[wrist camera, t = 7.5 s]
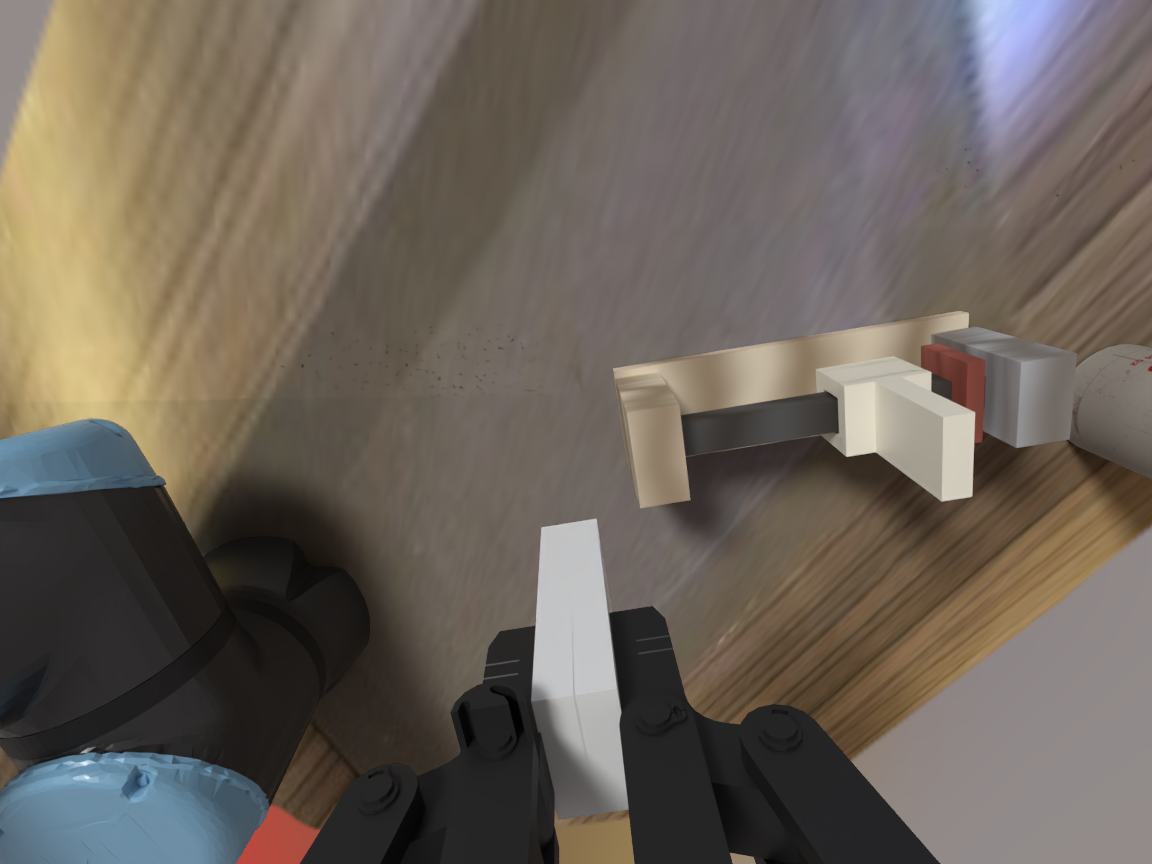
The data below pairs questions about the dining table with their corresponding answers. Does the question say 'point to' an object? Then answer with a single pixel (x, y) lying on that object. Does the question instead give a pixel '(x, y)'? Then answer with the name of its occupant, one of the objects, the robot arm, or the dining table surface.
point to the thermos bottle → (1115, 406)
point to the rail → (738, 388)
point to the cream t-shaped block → (902, 423)
